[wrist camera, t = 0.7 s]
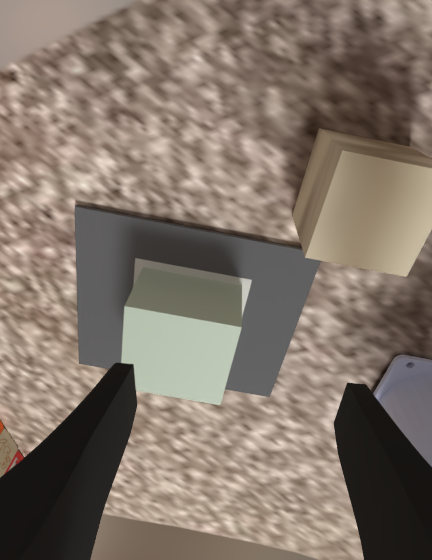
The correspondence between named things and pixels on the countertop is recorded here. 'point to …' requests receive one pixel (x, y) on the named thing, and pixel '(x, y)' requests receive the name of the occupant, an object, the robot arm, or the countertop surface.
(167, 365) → the sage block
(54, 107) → the countertop surface
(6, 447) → the stack of blocks
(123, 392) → the robot arm
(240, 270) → the mat
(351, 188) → the birch block
